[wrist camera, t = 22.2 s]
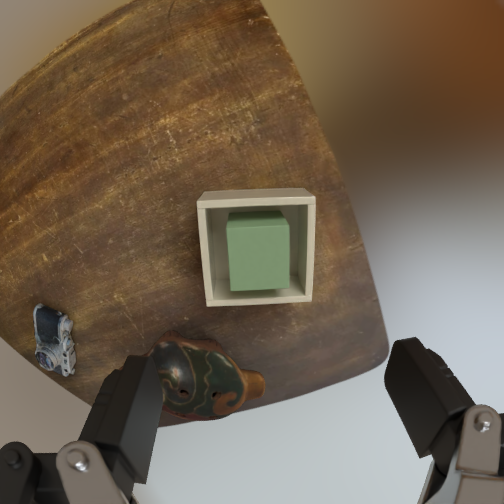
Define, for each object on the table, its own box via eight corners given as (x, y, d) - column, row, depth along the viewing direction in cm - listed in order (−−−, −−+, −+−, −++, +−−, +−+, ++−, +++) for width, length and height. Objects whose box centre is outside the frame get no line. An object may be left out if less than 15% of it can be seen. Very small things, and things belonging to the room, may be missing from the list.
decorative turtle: (126, 311, 30) (104, 355, 22) (267, 326, 32) (282, 373, 24) (131, 378, 33) (117, 426, 25) (253, 390, 35) (262, 439, 27)
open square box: (203, 191, 26) (196, 201, 22) (303, 187, 26) (315, 196, 22) (211, 282, 29) (206, 306, 25) (301, 278, 29) (311, 301, 25)
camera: (75, 311, 30) (59, 331, 26) (77, 372, 33) (66, 393, 29) (40, 297, 29) (23, 315, 25) (47, 359, 32) (33, 378, 28)
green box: (228, 212, 26) (225, 228, 21) (280, 210, 26) (289, 225, 21) (232, 266, 28) (230, 291, 23) (281, 263, 28) (289, 288, 23)
